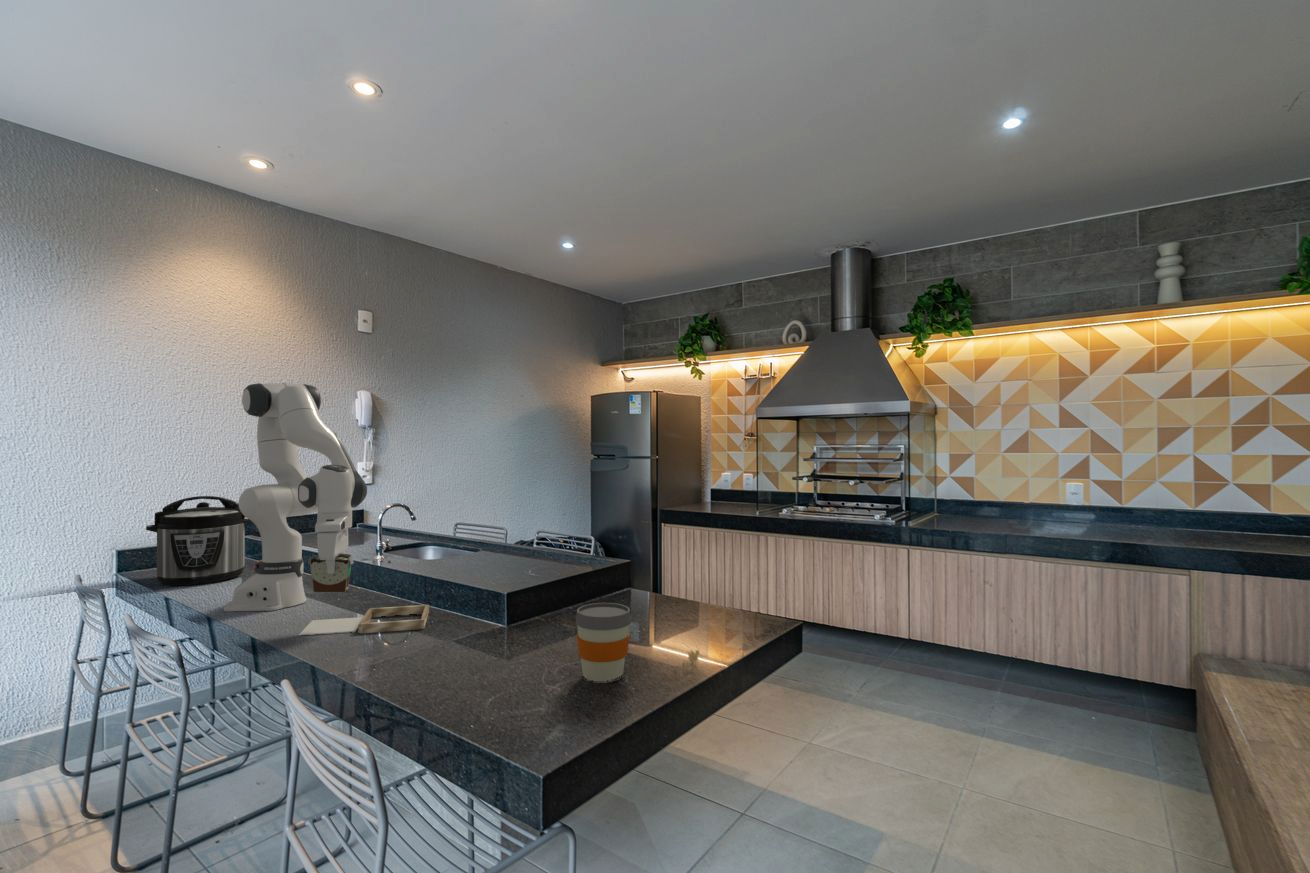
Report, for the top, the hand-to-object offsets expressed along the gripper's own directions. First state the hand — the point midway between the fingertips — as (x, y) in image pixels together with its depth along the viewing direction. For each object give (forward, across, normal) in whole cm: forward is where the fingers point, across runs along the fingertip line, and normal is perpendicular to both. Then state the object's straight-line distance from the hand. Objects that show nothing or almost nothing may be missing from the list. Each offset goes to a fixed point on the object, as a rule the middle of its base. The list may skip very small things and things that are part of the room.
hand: (334, 570), depth 173 cm
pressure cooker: (+16, -79, -62) cm, 102 cm away
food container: (+6, -1, 0) cm, 6 cm away
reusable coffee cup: (+17, +56, +67) cm, 89 cm away
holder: (+16, 0, +16) cm, 23 cm away
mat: (+16, 0, 0) cm, 16 cm away
